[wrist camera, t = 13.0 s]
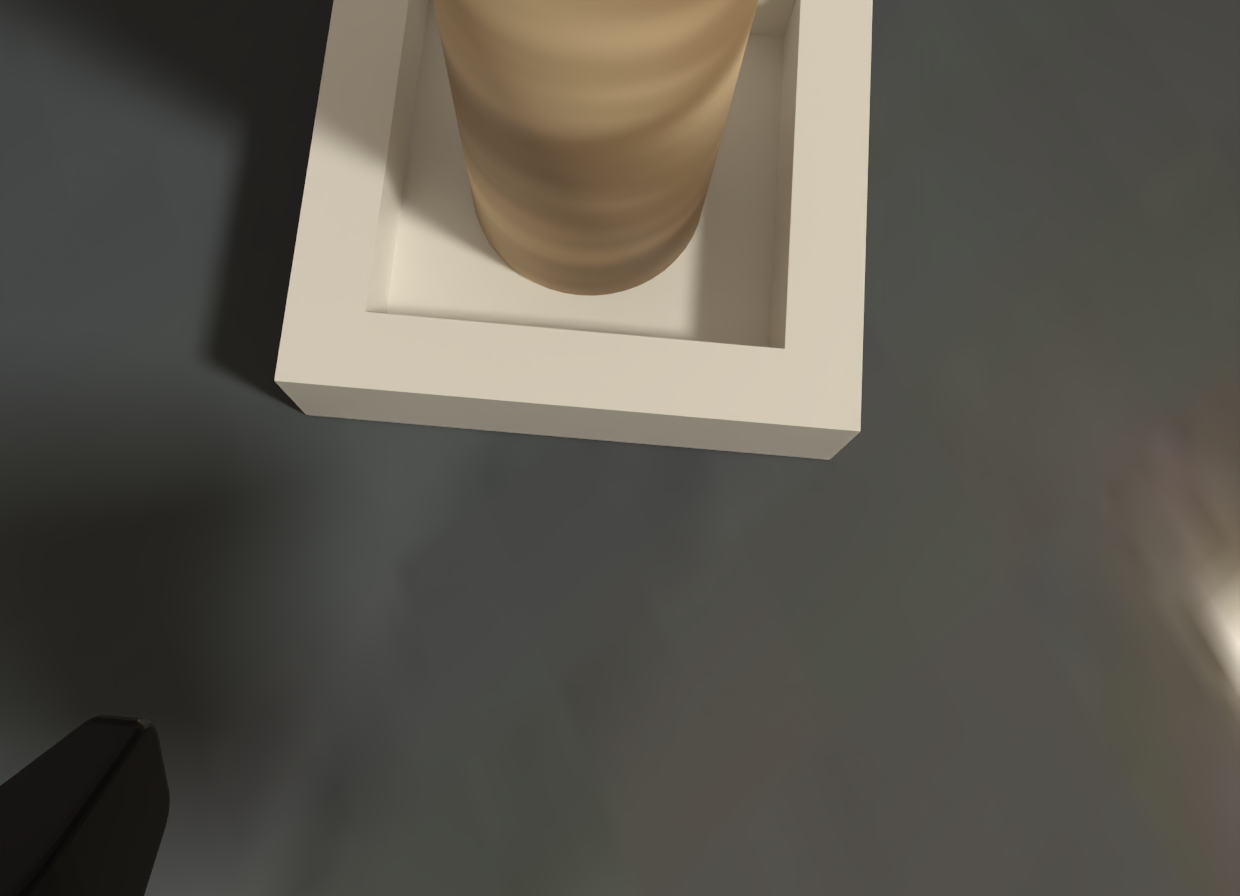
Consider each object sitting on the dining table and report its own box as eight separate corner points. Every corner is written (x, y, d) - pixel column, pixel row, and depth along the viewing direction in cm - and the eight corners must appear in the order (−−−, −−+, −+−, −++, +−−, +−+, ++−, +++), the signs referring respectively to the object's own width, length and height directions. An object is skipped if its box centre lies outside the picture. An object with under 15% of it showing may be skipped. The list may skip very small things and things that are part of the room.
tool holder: (829, 459, 23) (860, 431, 20) (306, 414, 23) (274, 380, 20) (845, 1, 25) (874, -73, 23) (373, -44, 25) (353, -124, 23)
